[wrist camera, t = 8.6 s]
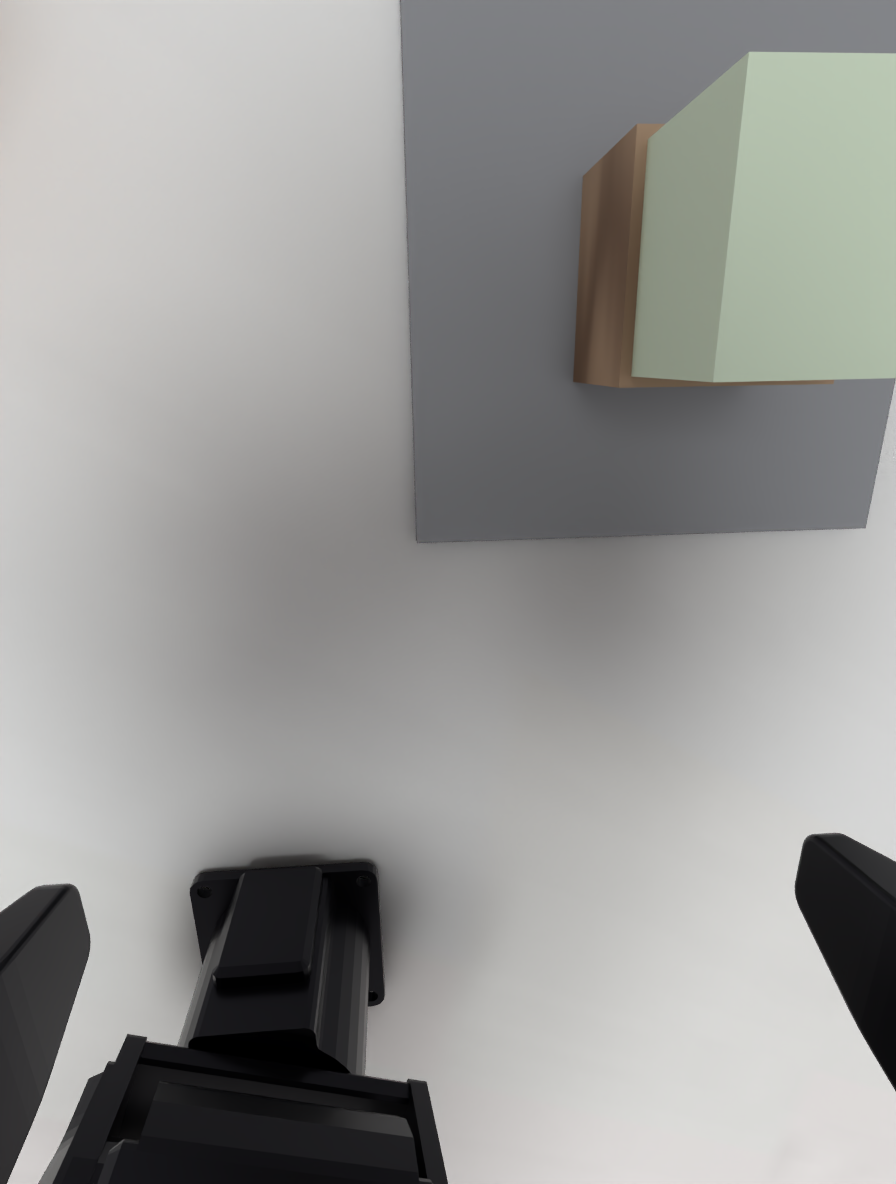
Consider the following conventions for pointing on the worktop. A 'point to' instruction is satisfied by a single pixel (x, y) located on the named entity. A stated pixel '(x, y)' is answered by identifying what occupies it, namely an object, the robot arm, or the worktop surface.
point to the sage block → (773, 225)
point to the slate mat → (550, 282)
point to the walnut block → (618, 270)
